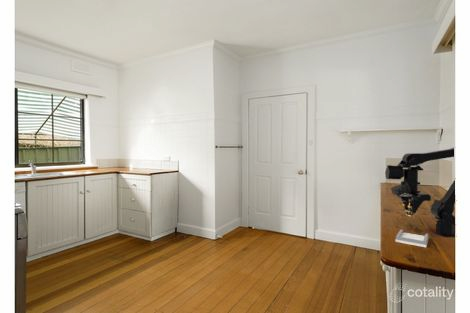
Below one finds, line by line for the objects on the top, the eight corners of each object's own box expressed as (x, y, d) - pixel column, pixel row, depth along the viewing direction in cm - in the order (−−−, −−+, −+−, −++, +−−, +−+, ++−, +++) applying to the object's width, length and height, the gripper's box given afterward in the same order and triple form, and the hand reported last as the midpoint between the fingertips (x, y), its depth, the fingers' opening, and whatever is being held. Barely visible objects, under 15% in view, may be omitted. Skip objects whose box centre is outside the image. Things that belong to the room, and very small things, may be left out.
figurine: (400, 213, 128) (402, 197, 127) (410, 213, 129) (411, 197, 128) (407, 217, 124) (409, 200, 122) (417, 217, 124) (419, 200, 123)
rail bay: (400, 233, 124) (400, 229, 124) (428, 238, 117) (428, 233, 117) (395, 241, 114) (395, 236, 114) (426, 247, 107) (426, 242, 107)
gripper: (382, 177, 134) (382, 207, 135) (407, 182, 116) (406, 217, 116) (403, 177, 135) (403, 207, 135) (432, 182, 116) (431, 217, 116)
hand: (410, 212), depth 126 cm, fingers closed on figurine, 5 cm apart
